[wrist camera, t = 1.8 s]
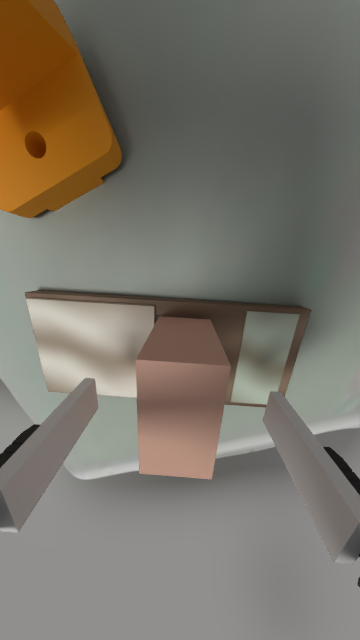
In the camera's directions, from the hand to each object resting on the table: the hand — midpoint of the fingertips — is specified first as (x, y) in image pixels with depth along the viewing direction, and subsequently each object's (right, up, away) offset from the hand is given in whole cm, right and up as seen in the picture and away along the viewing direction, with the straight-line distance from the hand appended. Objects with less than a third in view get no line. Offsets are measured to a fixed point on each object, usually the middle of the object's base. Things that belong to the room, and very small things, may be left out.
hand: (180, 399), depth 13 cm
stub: (0, +2, +5) cm, 5 cm away
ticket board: (-2, +3, +7) cm, 7 cm away
